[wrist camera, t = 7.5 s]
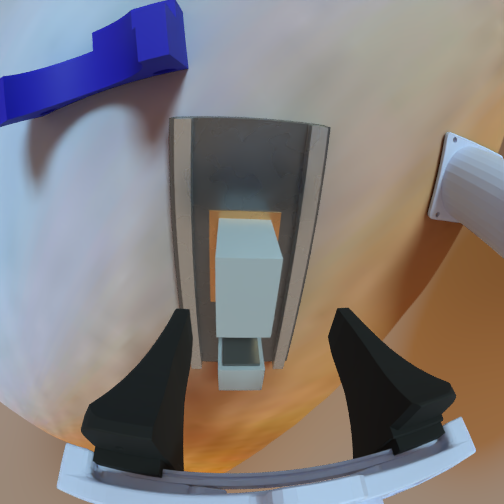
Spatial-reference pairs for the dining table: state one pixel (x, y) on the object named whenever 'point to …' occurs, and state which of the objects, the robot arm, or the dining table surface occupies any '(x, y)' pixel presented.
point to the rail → (243, 211)
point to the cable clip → (101, 63)
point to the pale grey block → (246, 277)
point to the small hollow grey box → (240, 363)
